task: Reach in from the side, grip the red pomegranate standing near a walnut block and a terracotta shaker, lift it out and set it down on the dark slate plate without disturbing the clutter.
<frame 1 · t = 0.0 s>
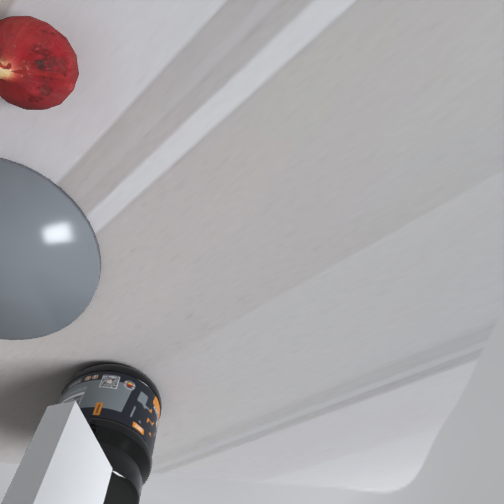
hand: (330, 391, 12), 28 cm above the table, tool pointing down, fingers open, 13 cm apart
red pomegranate: (51, 60, 33), on the table
supplement container: (115, 394, 49), on the table
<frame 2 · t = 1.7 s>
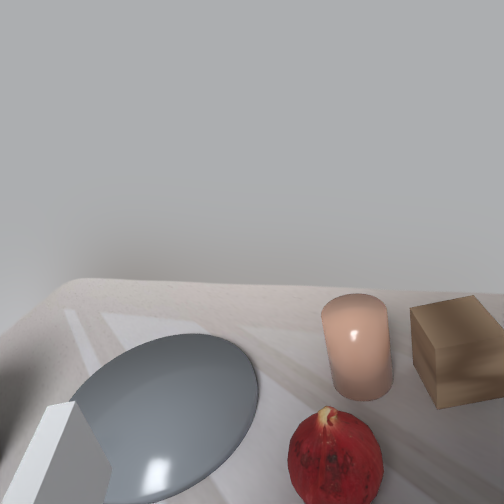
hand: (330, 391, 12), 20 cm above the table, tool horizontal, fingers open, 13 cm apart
terracotta shaker: (362, 378, 38), on the table
red pomegranate: (342, 500, 29), on the table
walnut block: (455, 379, 36), on the table
slate plate: (159, 408, 40), on the table
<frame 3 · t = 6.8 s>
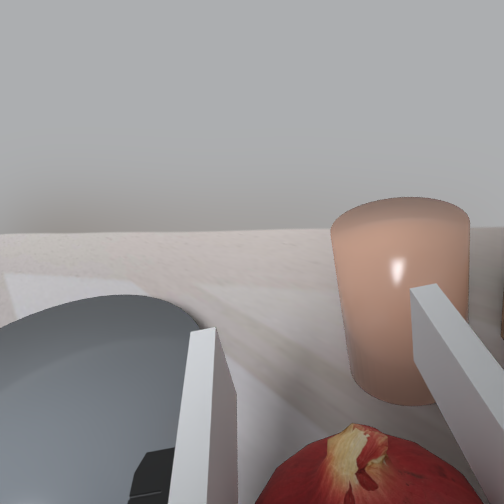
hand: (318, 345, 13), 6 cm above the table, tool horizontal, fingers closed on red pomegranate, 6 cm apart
terracotta shaker: (406, 362, 20), on the table
slate plate: (36, 416, 22), on the table
when the fingers open (8 cm above the table, at t = 11.9 s): red pomegranate stays where it is, resting on slate plate.
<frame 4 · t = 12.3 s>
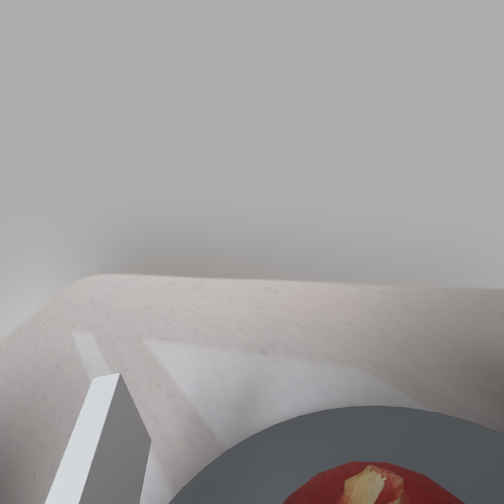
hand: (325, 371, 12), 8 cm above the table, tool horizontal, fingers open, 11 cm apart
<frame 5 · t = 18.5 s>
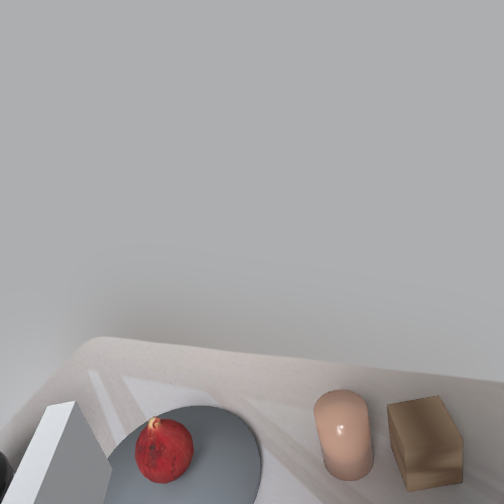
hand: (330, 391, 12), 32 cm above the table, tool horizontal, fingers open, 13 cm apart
terracotta shaker: (348, 458, 45), on the table
red pomegranate: (175, 474, 47), point 1 cm above the table, touching slate plate
walnut block: (424, 463, 43), on the table
slate plate: (178, 479, 47), on the table
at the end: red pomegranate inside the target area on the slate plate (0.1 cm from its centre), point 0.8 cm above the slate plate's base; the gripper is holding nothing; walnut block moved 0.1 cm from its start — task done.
